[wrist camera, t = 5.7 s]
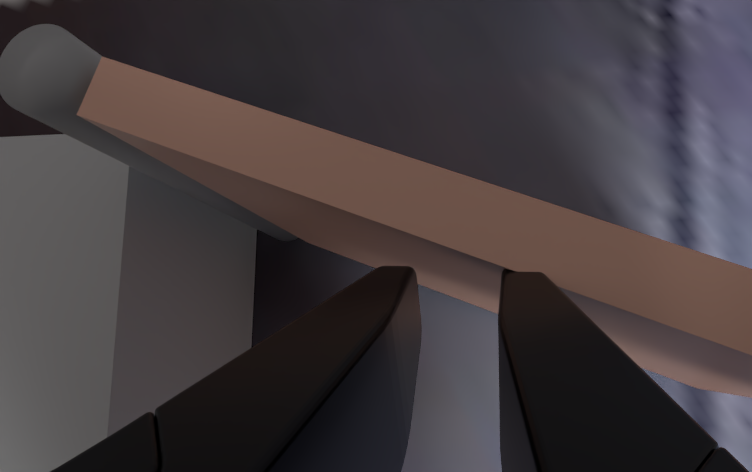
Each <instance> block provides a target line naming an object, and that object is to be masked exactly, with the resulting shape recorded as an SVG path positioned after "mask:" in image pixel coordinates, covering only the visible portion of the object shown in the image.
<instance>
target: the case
mask: <svg viewBox="0 0 752 472" xmlns="http://www.w3.org/2000/svg"><path fill="white" fill-rule="evenodd" d="M256 240H257V229H255V228H253V227H251V226H249V225H247V224H245V223H243V222H241V221H239V220H237V219H235V218H233V217H231V216H229V215H227V214H225V213H223V212H221V211H219V210H217V209H215V208H213V207H211V206H209V205H207V204H205V203H203V202H201V201H199V200H197V199H195V198H193V197H191V196H189V195H187V194H185V193H183V192H181V191H179V190H177V189H175V188H173V187H171V186H169V185H167V184H165V183H163V182H161V181H159V180H157V179H155V178H153V177H151V176H149V175H146V174H144V173H142V172H140V171H138V170H136V169H134V168H132V167H130V166H128V165H126V164H124V163H122V162H120V161H118V160H116V159H114V158H112V157H110V156H108V155H106V154H104V153H102V152H100V151H98V150H96V149H94V148H92V147H90V146H88V145H86V144H84V143H82V142H80V141H78V140H76V139H74V138H72V137H70V136H68V135H66V134H54V135H34V136H13V137H0V472H50V471H52V470H54V469H55V468H57V467H59V466H61V465H62V464H64V463H66V462H67V461H69V460H70V459H72V458H74V457H75V456H77V455H79V454H80V453H82V452H84V451H85V450H87V449H89V448H90V447H92V446H94V445H95V444H97V443H99V442H100V441H102V440H104V439H105V438H107V437H108V436H110V435H112V434H113V433H115V432H117V431H118V430H120V429H121V428H123V427H125V426H126V425H128V424H129V423H131V422H132V421H134V420H136V419H137V418H139V417H140V416H142V415H143V414H145V413H147V412H152V413H153V414H154V415H155V409H156V408H157V407H158V406H160V405H162V404H163V403H165V402H166V401H168V400H170V399H171V398H173V397H174V396H176V395H177V394H179V393H181V392H182V391H184V390H185V389H187V388H189V387H190V386H192V385H193V384H195V383H196V382H198V381H200V380H201V379H203V378H204V377H206V376H207V375H209V374H211V373H212V372H214V371H215V370H217V369H219V368H220V367H222V366H223V365H225V364H226V363H228V362H230V361H231V360H233V359H234V358H236V357H238V356H239V355H241V354H242V353H244V352H245V351H247V350H249V349H250V348H251V345H252V324H253V303H254V282H255V261H256Z"/></svg>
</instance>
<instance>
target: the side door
mask: <svg viewBox="0 0 752 472" xmlns="http://www.w3.org/2000/svg"><path fill="white" fill-rule="evenodd" d="M0 94H1V96H2V98H3V99H4V101H5V102H6V103H7V104H8V105H9V106H11V107H12V108H14V109H15V110H17V111H19V112H21V113H23V114H25V115H27V116H29V117H31V118H34V119H36V120H38V121H40V122H42V123H44V124H46V125H48V126H50V127H52V128H54V129H56V130H58V131H60V132H62V133H64V134H66V135H68V136H70V137H72V138H74V139H76V140H78V141H80V142H82V143H84V144H86V145H88V146H90V147H92V148H94V149H96V150H98V151H100V152H102V153H104V154H106V155H108V156H110V157H112V158H114V159H116V160H118V161H120V162H122V163H124V164H126V165H128V166H130V167H132V168H134V169H136V170H138V171H140V172H142V173H144V174H146V175H149V176H151V177H153V178H155V179H157V180H159V181H161V182H163V183H165V184H167V185H169V186H171V187H173V188H175V189H177V190H179V191H181V192H183V193H185V194H187V195H189V196H191V197H193V198H195V199H197V200H199V201H201V202H203V203H205V204H207V205H209V206H211V207H213V208H215V209H217V210H219V211H221V212H223V213H225V214H227V215H229V216H231V217H233V218H235V219H237V220H239V221H241V222H243V223H245V224H247V225H249V226H251V227H253V228H255V229H257V230H259V231H262V232H264V233H266V234H268V235H270V236H272V237H274V238H276V239H278V240H280V241H292V240H295V239H297V238H300V239H302V240H304V241H306V242H307V243H310V244H312V245H315V246H318V247H320V248H323V249H326V250H328V251H331V252H334V253H336V254H339V255H342V256H344V257H347V258H350V259H352V260H355V261H358V262H360V263H363V264H366V265H368V266H371V267H374V268H378V267H380V266H410V267H412V268H414V270H415V272H416V276H417V284H419V285H422V286H425V287H427V288H430V289H433V290H435V291H438V292H441V293H443V294H446V295H449V296H451V297H454V298H457V299H459V300H462V301H465V302H467V303H470V304H473V305H475V306H478V307H481V308H483V309H486V310H489V311H491V312H494V313H497V314H498V311H499V298H500V286H501V274H502V271H503V270H504V269H509V270H512V271H516V272H542V273H544V274H545V275H546V276H547V277H548V278H549V279H550V280H551V281H552V282H553V283H554V284H555V285H556V286H558V287H559V288H560V289H561V290H562V291H563V292H564V293H565V294H566V295H567V296H568V297H569V298H570V299H571V300H572V301H573V302H574V303H575V304H576V305H577V306H578V307H579V308H580V309H581V310H582V311H583V312H584V313H585V314H586V315H587V316H588V317H589V318H590V319H591V320H592V321H593V322H594V323H595V324H596V325H597V326H598V327H599V328H600V329H601V330H602V331H604V332H605V333H606V334H607V335H608V336H609V337H610V338H611V339H612V340H613V341H614V342H615V343H616V344H617V345H618V346H619V347H620V348H621V349H622V350H623V351H624V352H625V353H626V354H627V355H628V356H629V357H630V358H631V359H632V360H633V361H634V362H635V363H636V364H637V365H638V366H639V367H641V368H644V369H647V370H649V371H652V372H655V373H657V374H660V375H663V376H665V377H668V378H671V379H673V380H676V381H679V382H681V383H684V384H687V385H689V386H692V387H695V388H698V389H704V390H710V391H716V392H721V393H727V394H733V395H739V396H745V397H750V398H752V269H750V268H747V267H744V266H741V265H738V264H734V263H731V262H728V261H725V260H722V259H719V258H716V257H713V256H710V255H707V254H704V253H701V252H698V251H695V250H692V249H689V248H686V247H683V246H680V245H676V244H673V243H670V242H667V241H664V240H661V239H658V238H655V237H652V236H649V235H646V234H643V233H640V232H637V231H634V230H631V229H628V228H625V227H621V226H618V225H615V224H612V223H609V222H606V221H603V220H600V219H597V218H594V217H591V216H588V215H585V214H582V213H579V212H576V211H573V210H570V209H567V208H563V207H560V206H557V205H554V204H551V203H548V202H545V201H542V200H539V199H536V198H533V197H530V196H527V195H524V194H521V193H518V192H515V191H512V190H508V189H505V188H502V187H499V186H496V185H493V184H490V183H487V182H484V181H481V180H478V179H475V178H472V177H469V176H466V175H463V174H460V173H457V172H454V171H450V170H447V169H444V168H441V167H438V166H435V165H432V164H429V163H426V162H423V161H420V160H417V159H414V158H411V157H408V156H405V155H402V154H399V153H395V152H392V151H389V150H386V149H383V148H380V147H377V146H374V145H371V144H368V143H365V142H362V141H359V140H356V139H353V138H350V137H347V136H344V135H341V134H337V133H334V132H331V131H328V130H325V129H322V128H319V127H316V126H313V125H310V124H307V123H304V122H301V121H298V120H295V119H292V118H289V117H286V116H283V115H279V114H276V113H273V112H270V111H267V110H264V109H261V108H258V107H255V106H252V105H249V104H246V103H243V102H240V101H237V100H234V99H231V98H228V97H224V96H221V95H218V94H215V93H212V92H209V91H206V90H203V89H200V88H197V87H194V86H191V85H188V84H185V83H182V82H179V81H176V80H173V79H170V78H166V77H163V76H160V75H157V74H154V73H151V72H148V71H145V70H142V69H139V68H136V67H133V66H130V65H127V64H124V63H121V62H118V61H115V60H111V59H108V58H105V57H102V56H101V55H100V54H98V53H97V52H96V51H94V50H93V49H91V48H90V47H89V46H87V45H86V44H85V43H83V42H82V41H80V40H79V39H78V38H76V37H75V36H74V35H72V34H71V33H70V32H68V31H67V30H65V29H64V28H62V27H60V26H57V25H53V24H39V25H35V26H32V27H29V28H27V29H25V30H23V31H22V32H20V33H19V34H18V35H16V36H15V37H14V38H13V39H12V40H11V41H10V42H9V43H8V45H7V46H6V48H5V49H4V51H3V53H2V55H1V57H0Z"/></svg>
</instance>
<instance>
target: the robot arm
mask: <svg viewBox="0 0 752 472" xmlns="http://www.w3.org/2000/svg"><path fill="white" fill-rule="evenodd" d="M498 337H499V399H500V452H501V464H502V472H749V471H748V470H747V469H746V468H745V467H744V466H743V465H742V464H741V463H740V462H739V461H738V460H736V459H735V458H734V457H733V456H732V455H731V454H730V453H729V452H728V451H727V450H726V449H725V448H722V447H720V448H719V446H718V444H717V442H716V441H715V440H714V439H713V438H712V437H711V436H710V435H709V434H708V433H707V432H706V431H705V430H704V429H703V428H702V427H701V426H700V425H699V424H698V423H697V422H696V421H695V420H693V419H692V418H691V417H690V416H689V415H688V414H687V413H686V412H685V411H684V410H683V409H682V408H681V407H680V406H679V405H678V404H677V403H676V402H675V401H674V400H673V399H672V398H671V397H670V396H669V395H668V394H667V393H666V392H665V391H664V390H663V389H662V388H661V387H660V386H659V385H658V384H657V383H656V382H655V381H654V380H653V379H652V378H651V377H650V376H649V375H647V374H646V373H645V372H644V371H643V370H642V369H641V368H640V367H639V366H638V365H637V364H636V363H635V362H634V361H633V360H632V359H631V358H630V357H629V356H628V355H627V354H626V353H625V352H624V351H623V350H622V349H621V348H620V347H619V346H618V345H617V344H616V343H615V342H614V341H613V340H612V339H611V338H610V337H609V336H608V335H607V334H606V333H605V332H604V331H602V330H601V329H600V328H599V327H598V326H597V325H596V324H595V323H594V322H593V321H592V320H591V319H590V318H589V317H588V316H587V315H586V314H585V313H584V312H583V311H582V310H581V309H580V308H579V307H578V306H577V305H576V304H575V303H574V302H573V301H572V300H571V299H570V298H569V297H568V296H567V295H566V294H565V293H564V292H563V291H562V290H561V289H560V288H559V287H558V286H556V285H555V284H554V283H553V282H552V281H551V280H550V279H549V278H548V277H547V276H546V275H545V274H544V273H542V272H516V271H512V270H509V269H504V270H503V271H502V274H501V286H500V298H499V311H498ZM420 346H421V315H420V305H419V295H418V285H417V276H416V272H415V270H414V268H412V267H410V266H380V267H378V268H376V269H375V270H373V271H372V272H370V273H368V274H367V275H365V276H364V277H362V278H361V279H359V280H357V281H356V282H354V283H353V284H351V285H349V286H348V287H346V288H345V289H343V290H342V291H340V292H338V293H337V294H335V295H334V296H332V297H331V298H329V299H327V300H326V301H324V302H323V303H321V304H320V305H318V306H316V307H315V308H313V309H312V310H310V311H308V312H307V313H305V314H304V315H302V316H301V317H299V318H297V319H296V320H294V321H293V322H291V323H290V324H288V325H286V326H285V327H283V328H282V329H280V330H279V331H277V332H275V333H274V334H272V335H271V336H269V337H267V338H266V339H264V340H263V341H261V342H260V343H258V344H256V345H255V346H253V347H252V348H250V349H249V350H247V351H245V352H244V353H242V354H241V355H239V356H238V357H236V358H234V359H233V360H231V361H230V362H228V363H226V364H225V365H223V366H222V367H220V368H219V369H217V370H215V371H214V372H212V373H211V374H209V375H207V376H206V377H204V378H203V379H201V380H200V381H198V382H196V383H195V384H193V385H192V386H190V387H189V388H187V389H185V390H184V391H182V392H181V393H179V394H177V395H176V396H174V397H173V398H171V399H170V400H168V401H166V402H165V403H163V404H162V405H160V406H158V407H157V408H156V409H155V415H154V414H153V413H152V412H147V413H145V414H143V415H142V416H140V417H139V418H137V419H136V420H134V421H132V422H131V423H129V424H128V425H126V426H125V427H123V428H121V429H120V430H118V431H117V432H115V433H113V434H112V435H110V436H108V437H107V438H105V439H104V440H102V441H100V442H99V443H97V444H95V445H94V446H92V447H90V448H89V449H87V450H85V451H84V452H82V453H80V454H79V455H77V456H75V457H74V458H72V459H70V460H69V461H67V462H66V463H64V464H62V465H61V466H59V467H57V468H55V469H54V470H52V471H50V472H401V470H402V466H403V462H404V458H405V454H406V449H407V445H408V439H409V432H410V426H411V418H412V410H413V402H414V394H415V386H416V378H417V370H418V362H419V354H420Z"/></svg>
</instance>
